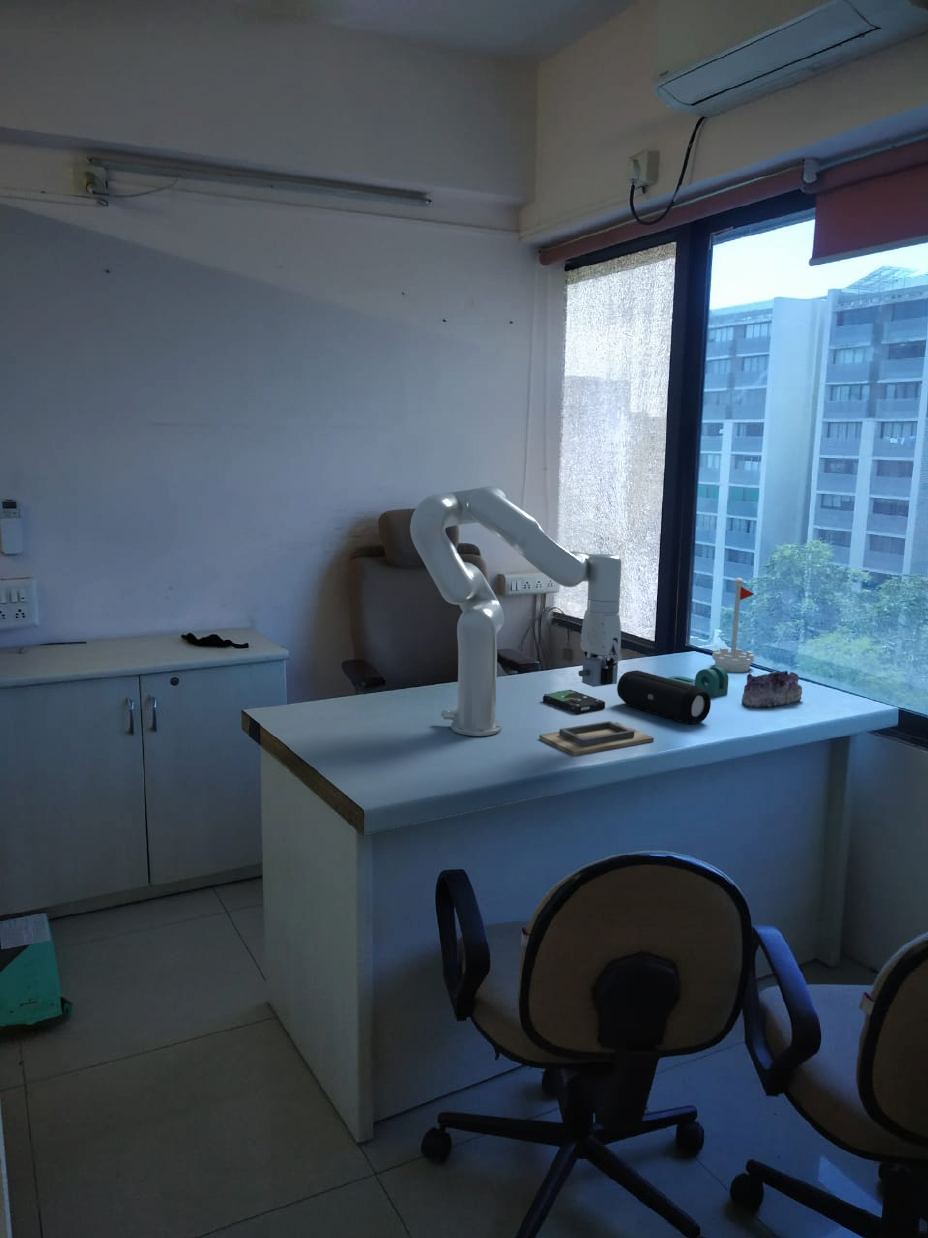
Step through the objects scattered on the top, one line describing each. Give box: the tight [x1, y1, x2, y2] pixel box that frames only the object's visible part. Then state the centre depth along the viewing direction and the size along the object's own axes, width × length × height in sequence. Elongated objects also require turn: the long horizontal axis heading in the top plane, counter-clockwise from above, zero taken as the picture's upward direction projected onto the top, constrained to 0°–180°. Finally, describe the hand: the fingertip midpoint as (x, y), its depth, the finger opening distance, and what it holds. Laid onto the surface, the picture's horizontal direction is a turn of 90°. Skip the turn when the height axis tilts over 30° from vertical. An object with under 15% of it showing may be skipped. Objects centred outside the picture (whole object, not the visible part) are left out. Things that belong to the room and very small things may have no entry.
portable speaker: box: [616, 669, 712, 725], centre depth 246 cm, size 26×10×10 cm, turn 37°
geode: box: [741, 670, 803, 709], centre depth 260 cm, size 20×12×10 cm, turn 127°
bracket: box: [667, 666, 729, 699], centre depth 272 cm, size 18×7×8 cm, turn 41°
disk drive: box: [542, 689, 606, 715], centre depth 253 cm, size 10×3×15 cm
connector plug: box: [578, 656, 619, 688], centre depth 220 cm, size 4×11×6 cm, turn 120°
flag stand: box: [711, 577, 755, 673], centre depth 298 cm, size 13×13×30 cm
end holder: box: [539, 720, 655, 757], centre depth 223 cm, size 14×24×2 cm, turn 120°
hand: (599, 680), depth 220 cm, fingers closed on connector plug, 4 cm apart
